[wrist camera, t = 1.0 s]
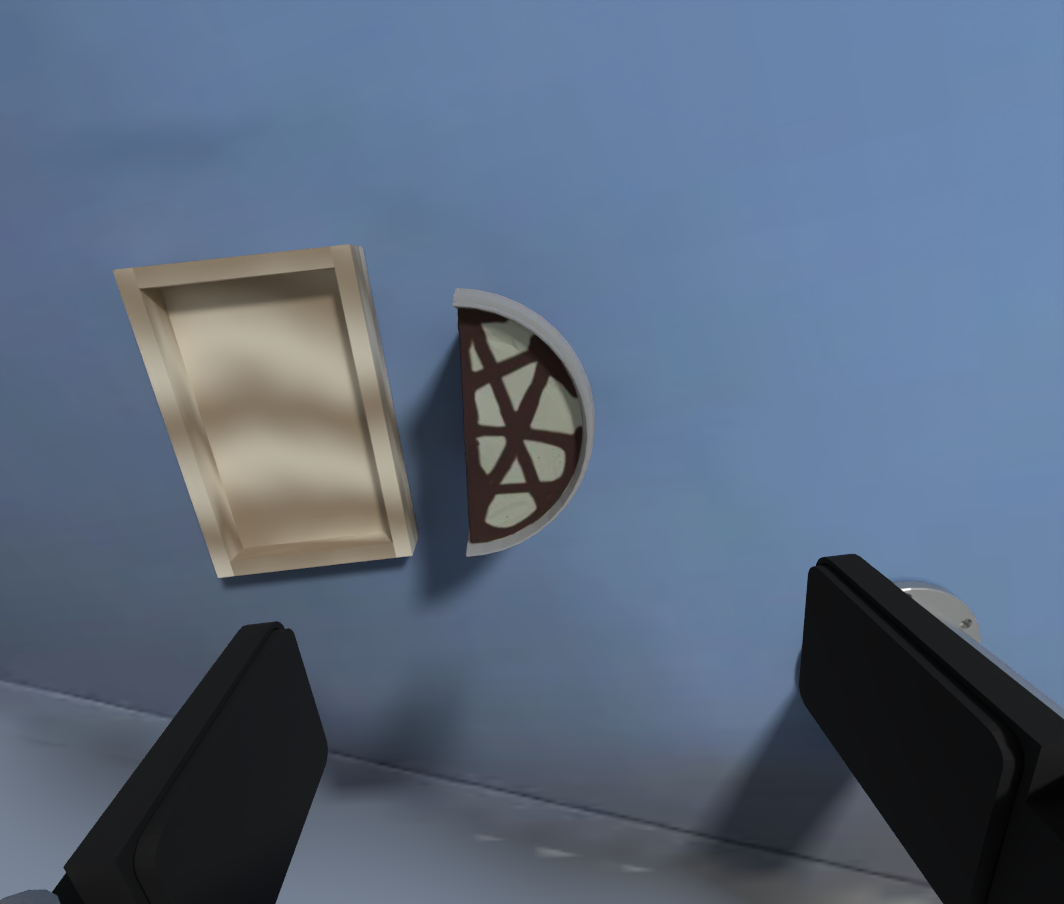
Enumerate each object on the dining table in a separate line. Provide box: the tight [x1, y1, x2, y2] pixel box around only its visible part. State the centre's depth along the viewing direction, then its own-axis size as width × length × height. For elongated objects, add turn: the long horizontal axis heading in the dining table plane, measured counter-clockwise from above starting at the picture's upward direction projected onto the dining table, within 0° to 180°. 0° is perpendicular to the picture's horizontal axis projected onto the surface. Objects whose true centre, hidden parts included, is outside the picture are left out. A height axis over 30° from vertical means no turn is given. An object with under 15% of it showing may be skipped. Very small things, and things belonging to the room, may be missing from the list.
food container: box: [452, 288, 595, 557], centre depth 27 cm, size 12×6×10 cm, turn 0°
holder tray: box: [113, 244, 419, 578], centre depth 31 cm, size 18×12×2 cm, turn 6°
